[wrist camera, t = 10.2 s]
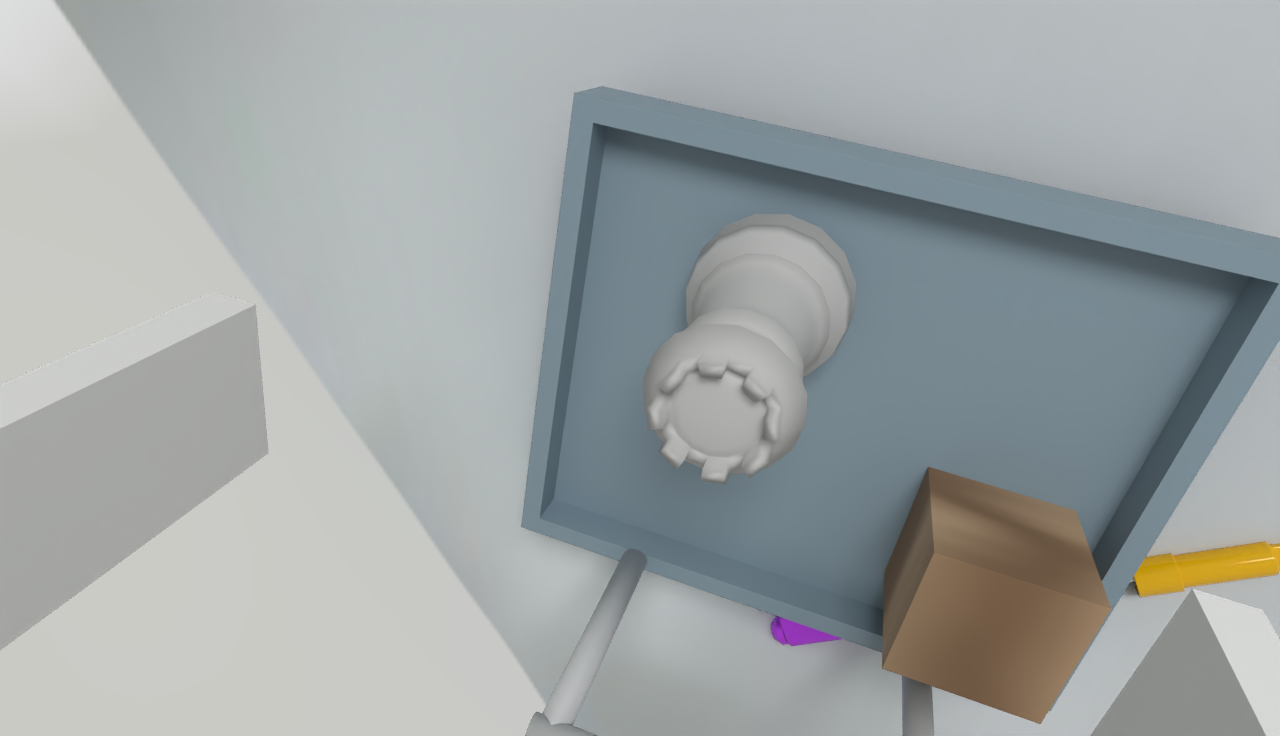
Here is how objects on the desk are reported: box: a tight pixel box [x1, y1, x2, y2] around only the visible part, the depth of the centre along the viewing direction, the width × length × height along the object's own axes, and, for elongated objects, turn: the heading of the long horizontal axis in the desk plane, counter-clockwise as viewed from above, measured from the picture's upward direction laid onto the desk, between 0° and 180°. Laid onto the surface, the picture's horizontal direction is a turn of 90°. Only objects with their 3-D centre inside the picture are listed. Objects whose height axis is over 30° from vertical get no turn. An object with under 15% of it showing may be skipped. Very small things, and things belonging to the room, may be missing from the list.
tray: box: [521, 86, 1280, 736], centre depth 19 cm, size 14×17×10 cm
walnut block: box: [882, 467, 1111, 724], centre depth 21 cm, size 4×4×4 cm
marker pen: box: [771, 542, 1280, 646], centre depth 25 cm, size 3×1×16 cm
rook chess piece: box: [642, 214, 856, 484], centre depth 18 cm, size 4×4×8 cm
